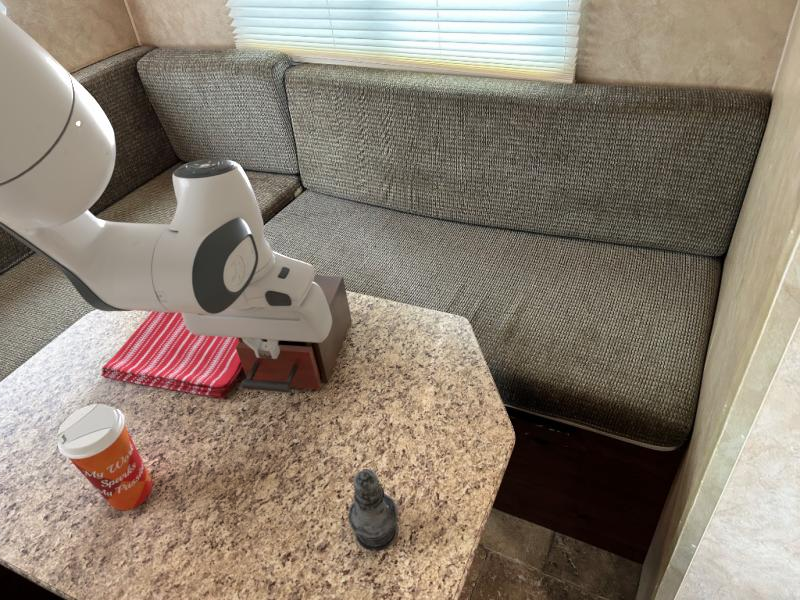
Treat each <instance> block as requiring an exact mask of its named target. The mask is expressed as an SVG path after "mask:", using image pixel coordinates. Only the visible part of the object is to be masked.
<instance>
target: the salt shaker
mask: <svg viewBox="0 0 800 600" xmlns="http://www.w3.org/2000/svg"><path fill="white" fill-rule="evenodd" d="M352 486H353V489H354V492H353V497H352V498H353V502H352V504H351V505H350V508H349V510H348V514H347V517H348V518H347V519H348V524H349V526H350V528H351V529H352V531H353V532H354V534H355V535H354V536H355V539H356V541H357V543H358V544H359V545H360V546H361V547H362V548H364V549H365V550H369V551H374V552H376V551H377V552H378V551H382V550H385V549H387V548H388V547H390V546H391V545H392V544H393V543H394V542H395V541H396V539H397V537H398V534H399V523H398V517H399V509H398V505H397V503H396V501H395V499H393V497H391V496H390V495H388V494H386V493H385V490H384V488H383V485H381V484H380V481H379V476H378V474H377V473H376V472H375V471H374V470H372V469H369V468H365V469H361V470H358V471H357V473H355V474H354V476H353V480H352Z"/></svg>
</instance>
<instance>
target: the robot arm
mask: <svg viewBox="0 0 800 600" xmlns="http://www.w3.org/2000/svg"><path fill="white" fill-rule="evenodd" d="M115 137H116V136H115V131H114V129H113V126H112V124H111V122H110V120H109V118H108V116H107V115H106V113H105V112H104V109H102V107H101V106H100V105H99V103H98V101H96V99H95V98H94V96H92V94H91V93H90V92H89V91H87V89H86V88H85V87H84V86H83V85H82V84H81V83H80V81H78V80H77V79H76V78H75V77H74V76H73V75H72V74H70V72H69V71H68V70H67V69H66V68H65V67H64V66H63V65H62V64H61V63H60V62H59V61H58V60H56V59H55V57H54V56H53V55H51V54H50V53H49V52H48V51H47V49H45V48H44V47H43V46H41V44H40V43H38V42H37V41H36V40H35V39H34V38H33V37H32V36H30V35H29V34H28V32H26V31H25V30H23V29H22V28H21V27H20V26H19V25H18V24H17V23H15V22H14V21H13V20H12V19H10V18H9V17H8V16H7V15H5V14H4V13H3V12H2V11H0V228H1V229H3V230H4V231H6V232H7V233H8V234H10V235H11V236H13V237H14V238H15V239H16V240H17V241H19V242H21V243H22V244H23V245H25V246H27V247H28V248H29V249H30V250H32V251H34V252H35V253H37V254H38V255H39V256H41V257H42V258H43V259H45V260H47V262H49V263H50V264H52V265H53V266H55V267H56V268H58V270H59V271H61V273H63V274H64V276H65V277H66V278H67V279H68V280H69V281H70V284H71V285H72V286H73V287H74V288H75V290H76V291H77V293H78V294H79V295H80V297H81V298H82V299H83V300H84V301H85V302H86V303H87V304H88V305H89V306H90V307H92V308H94V309H97V310H99V311H102V312H131V311H133V312H134V311H138V312H139V311H141V312H153V311H154V312H170V313H182V316H183V320H184V323H185V326H186V328H187V329H188V330H189V331H190V332H191V333H193V334H194V335H205V336H220V337H236V338H242V340H243V342H244V343H245V344H247V345H248V346H249V347H250V348H251V349H253V350H254V352H255V354H256V357H257V358H270V359H277V357H278V355H279V353H280V349H279V346H278V342H279V340H284V341H300V342H315V343H321V342H323V341H324V340H325V339H326V337H327V336H328V334H329V332H330V329H331V326H332V317H331V313H330V309H329V306H328V303H327V300H326V298H325V295H324V293H323V291H322V289H321V288H320V287H319V286H318V285H317V284H316V283H314V282H313V280H314V276H315V275H316V271H315V268H314V266H313V265H312V264H310V263H308V262H305V261H301V260H299V259H295V258H291V257H289V256H286V255H282V254H280V253H278V252H276V251H274V250H272V247H271V245H270V244H269V242H268V241H267V240H266V237H265V234H264V226H265V225H264V220H263V219H264V218H263V217H262V216H263V215H262V212H261V210H260V206H259V203H258V200H257V197H256V195H255V191H254V190H253V187H252V183H251V182H250V180H249V178H248V176H247V174H246V172H245V171H244V169H243V168H242V166H241V165H240V164H239V163H238V162H236V161H234V160H231V159H226V158H223V159H222V158H203V159H201V160H200V159H198V160H193V161H190V162H187V163H184V164H182V165H180V166H179V167H177V168H176V169H175V170H174V171H173V173H172V185H173V190H174V195H175V200H176V202H177V203H176V209H175V213H174V216H173V219H172V220H171V222H170V223H146V222H145V223H144V222H143V223H141V222H125V221H117V220H106V219H105V220H104V219H101V218H98V217H96V216H95V215H94V214H93V213H92V212H91V211H89V209H90V208H91V207H93V205H95V204H96V202H97V201H98V200H99V199H100V197H101V196H102V195H103V193H104V192H105V190H106V188H107V186H108V185H109V183H110V181H111V178H112V177H113V173H114V169H115V165H116V158H117V156H116V155H117V146H116V138H115ZM261 339H267V342H263V341H262V340H261Z"/></svg>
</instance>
